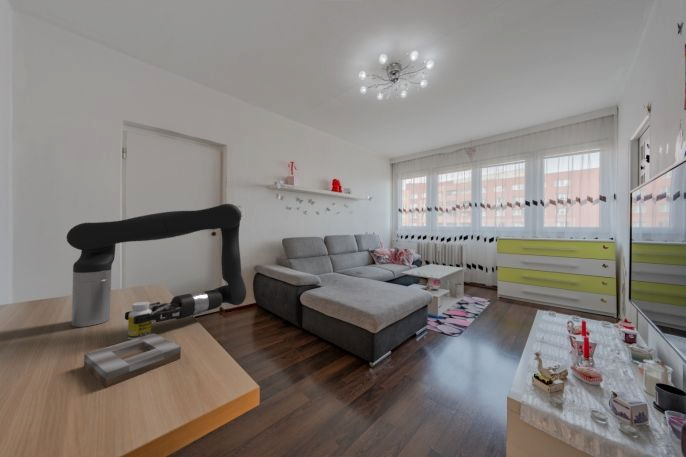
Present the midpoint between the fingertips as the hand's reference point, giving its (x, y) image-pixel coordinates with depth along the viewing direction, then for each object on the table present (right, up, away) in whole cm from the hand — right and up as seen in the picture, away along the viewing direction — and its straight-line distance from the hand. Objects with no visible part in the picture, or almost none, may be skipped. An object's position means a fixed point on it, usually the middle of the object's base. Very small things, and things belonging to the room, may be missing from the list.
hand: (129, 318), depth 73 cm
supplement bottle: (+1, -6, +2) cm, 7 cm away
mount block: (+11, -6, -12) cm, 18 cm away
